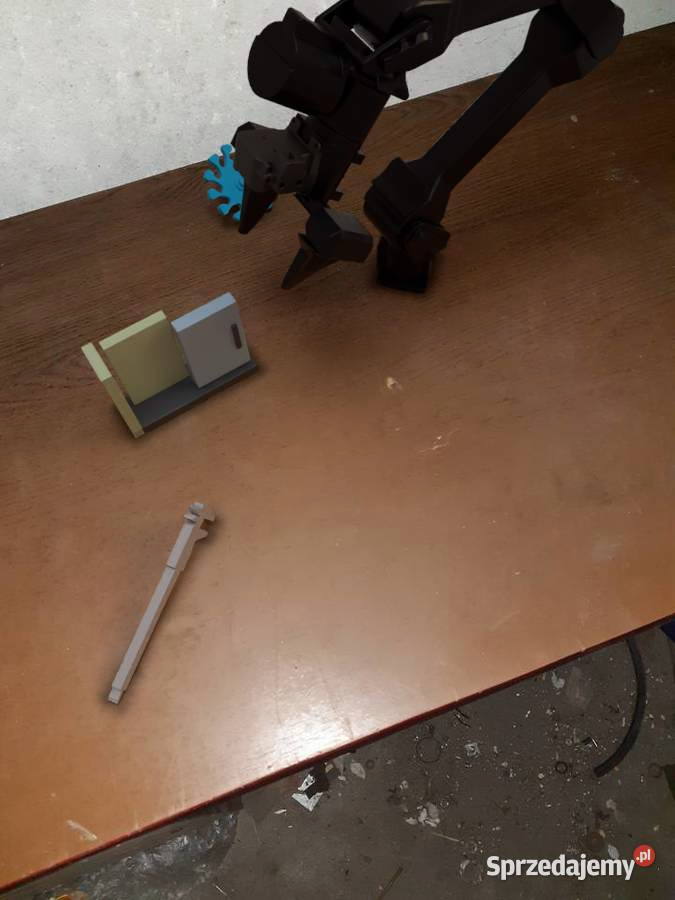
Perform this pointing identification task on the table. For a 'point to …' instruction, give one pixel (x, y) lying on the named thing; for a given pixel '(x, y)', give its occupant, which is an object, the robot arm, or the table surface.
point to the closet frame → (153, 374)
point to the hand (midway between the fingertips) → (262, 260)
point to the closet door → (212, 339)
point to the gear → (226, 182)
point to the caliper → (161, 595)
